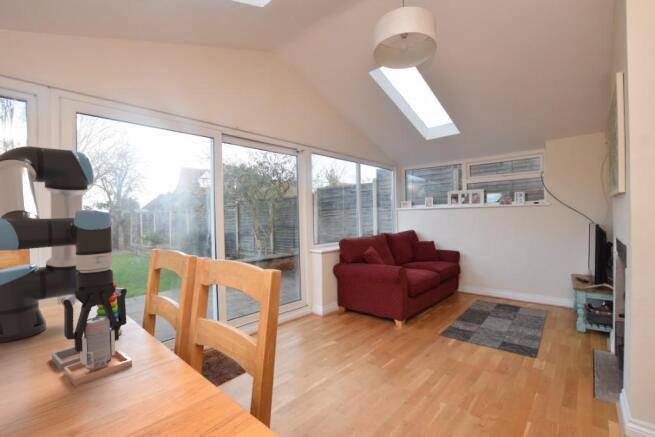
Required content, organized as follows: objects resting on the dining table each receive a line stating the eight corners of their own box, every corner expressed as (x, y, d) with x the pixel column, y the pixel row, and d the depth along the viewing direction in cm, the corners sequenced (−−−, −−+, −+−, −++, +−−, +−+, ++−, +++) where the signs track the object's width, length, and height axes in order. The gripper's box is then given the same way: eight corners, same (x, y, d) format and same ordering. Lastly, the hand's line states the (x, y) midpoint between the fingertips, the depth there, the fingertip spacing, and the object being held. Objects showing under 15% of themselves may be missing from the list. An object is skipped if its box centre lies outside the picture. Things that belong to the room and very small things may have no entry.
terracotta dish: (63, 374, 77) (63, 367, 77) (118, 355, 86) (118, 349, 86) (74, 387, 71) (74, 380, 71) (132, 366, 80) (131, 359, 80)
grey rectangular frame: (51, 359, 85) (51, 353, 85) (103, 344, 94) (102, 338, 94) (60, 370, 78) (60, 363, 78) (114, 353, 88) (114, 346, 88)
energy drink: (107, 358, 82) (106, 314, 82) (113, 364, 79) (112, 318, 78) (82, 365, 78) (81, 320, 78) (88, 372, 75) (86, 324, 74)
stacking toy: (106, 342, 95) (104, 283, 95) (86, 340, 97) (84, 283, 97) (127, 332, 103) (126, 278, 103) (108, 331, 105) (106, 277, 104)
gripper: (51, 277, 68) (55, 378, 69) (140, 265, 83) (142, 348, 83) (43, 274, 73) (47, 368, 73) (129, 263, 87) (131, 342, 88)
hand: (98, 357), depth 78 cm, fingers closed on energy drink, 5 cm apart
